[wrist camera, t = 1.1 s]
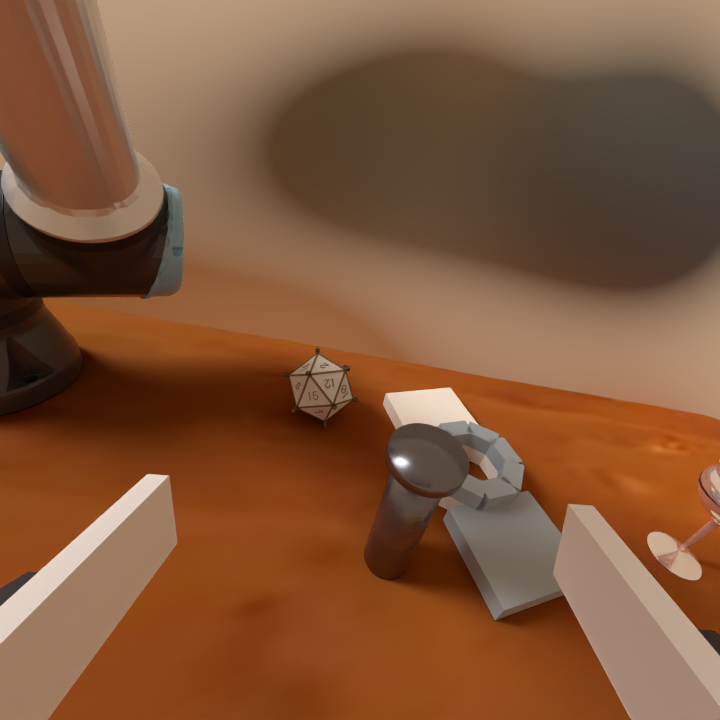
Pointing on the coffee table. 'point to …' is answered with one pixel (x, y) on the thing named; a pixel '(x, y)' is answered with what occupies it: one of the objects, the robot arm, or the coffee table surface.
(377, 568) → the pin
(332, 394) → the game die
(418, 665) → the coffee table surface
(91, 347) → the coffee table surface
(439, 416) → the hinge leaf
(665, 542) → the wineglass
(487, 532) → the hinge leaf
